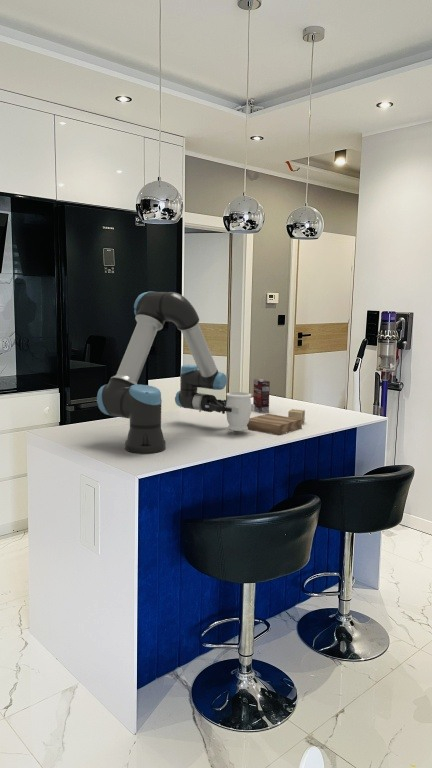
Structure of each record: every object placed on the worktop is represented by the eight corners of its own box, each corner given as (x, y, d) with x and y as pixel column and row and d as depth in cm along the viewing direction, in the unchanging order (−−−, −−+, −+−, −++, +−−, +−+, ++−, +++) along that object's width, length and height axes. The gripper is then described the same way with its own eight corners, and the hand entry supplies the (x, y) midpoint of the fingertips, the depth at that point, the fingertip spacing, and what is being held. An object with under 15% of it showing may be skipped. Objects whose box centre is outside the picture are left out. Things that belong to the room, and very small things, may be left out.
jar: (229, 432, 247) (230, 396, 245) (222, 426, 257) (223, 392, 255) (253, 431, 250) (255, 395, 248) (245, 426, 260) (247, 391, 258)
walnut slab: (279, 435, 251) (279, 425, 251) (244, 428, 262) (244, 419, 262) (301, 428, 265) (301, 419, 265) (267, 422, 276) (267, 413, 276)
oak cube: (300, 425, 271) (301, 412, 270) (288, 424, 273) (288, 411, 272) (304, 423, 276) (304, 410, 276) (291, 421, 279) (292, 409, 278)
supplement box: (252, 410, 304) (253, 379, 302) (260, 409, 306) (261, 378, 304) (260, 413, 297) (261, 381, 294) (269, 412, 299) (270, 381, 296)
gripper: (221, 407, 273) (261, 414, 259) (188, 414, 255) (229, 422, 241) (221, 391, 272) (262, 397, 258) (188, 397, 254) (230, 403, 240)
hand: (246, 409), depth 250 cm, fingers closed on jar, 10 cm apart
